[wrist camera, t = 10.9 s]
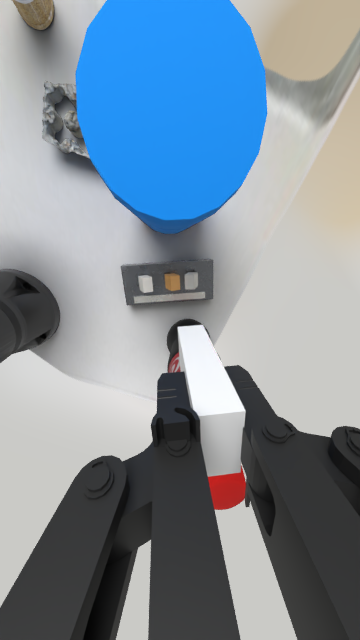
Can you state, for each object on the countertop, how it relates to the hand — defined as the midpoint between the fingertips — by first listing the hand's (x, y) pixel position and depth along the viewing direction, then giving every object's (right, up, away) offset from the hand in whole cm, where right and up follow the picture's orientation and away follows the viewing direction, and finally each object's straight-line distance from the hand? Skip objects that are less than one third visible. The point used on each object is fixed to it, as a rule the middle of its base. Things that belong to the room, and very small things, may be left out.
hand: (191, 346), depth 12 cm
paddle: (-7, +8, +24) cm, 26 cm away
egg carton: (-14, +30, +19) cm, 38 cm away
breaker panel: (-3, +9, +27) cm, 29 cm away
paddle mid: (-3, +9, +24) cm, 26 cm away
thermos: (-3, +22, +22) cm, 31 cm away
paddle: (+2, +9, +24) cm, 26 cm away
